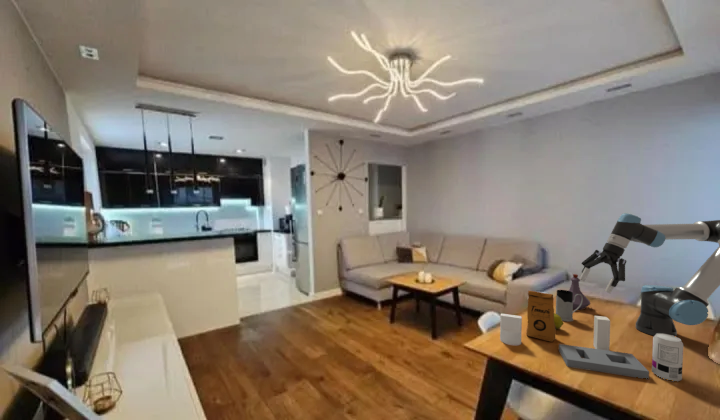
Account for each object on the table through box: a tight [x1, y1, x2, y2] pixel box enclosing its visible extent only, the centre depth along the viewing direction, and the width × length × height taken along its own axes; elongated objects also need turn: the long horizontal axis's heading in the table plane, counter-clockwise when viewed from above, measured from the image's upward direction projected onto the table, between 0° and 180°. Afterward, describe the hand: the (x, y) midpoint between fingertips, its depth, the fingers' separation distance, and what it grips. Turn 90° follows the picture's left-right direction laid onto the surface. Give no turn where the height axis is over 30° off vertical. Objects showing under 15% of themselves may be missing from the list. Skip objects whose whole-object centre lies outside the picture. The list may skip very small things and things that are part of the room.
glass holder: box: [555, 289, 583, 322], centre depth 176 cm, size 9×14×15 cm, turn 88°
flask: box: [567, 273, 591, 311], centre depth 193 cm, size 16×16×20 cm
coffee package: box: [525, 290, 557, 343], centre depth 152 cm, size 10×12×22 cm
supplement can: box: [651, 333, 684, 382], centre depth 119 cm, size 8×8×15 cm
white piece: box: [499, 313, 523, 346], centre depth 149 cm, size 9×9×12 cm
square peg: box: [593, 315, 611, 351], centre depth 141 cm, size 4×4×14 cm
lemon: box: [554, 312, 564, 330], centre depth 163 cm, size 11×8×8 cm
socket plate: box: [558, 343, 650, 380], centre depth 129 cm, size 26×14×3 cm, turn 70°
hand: (593, 286), depth 149 cm, fingers open, 13 cm apart
